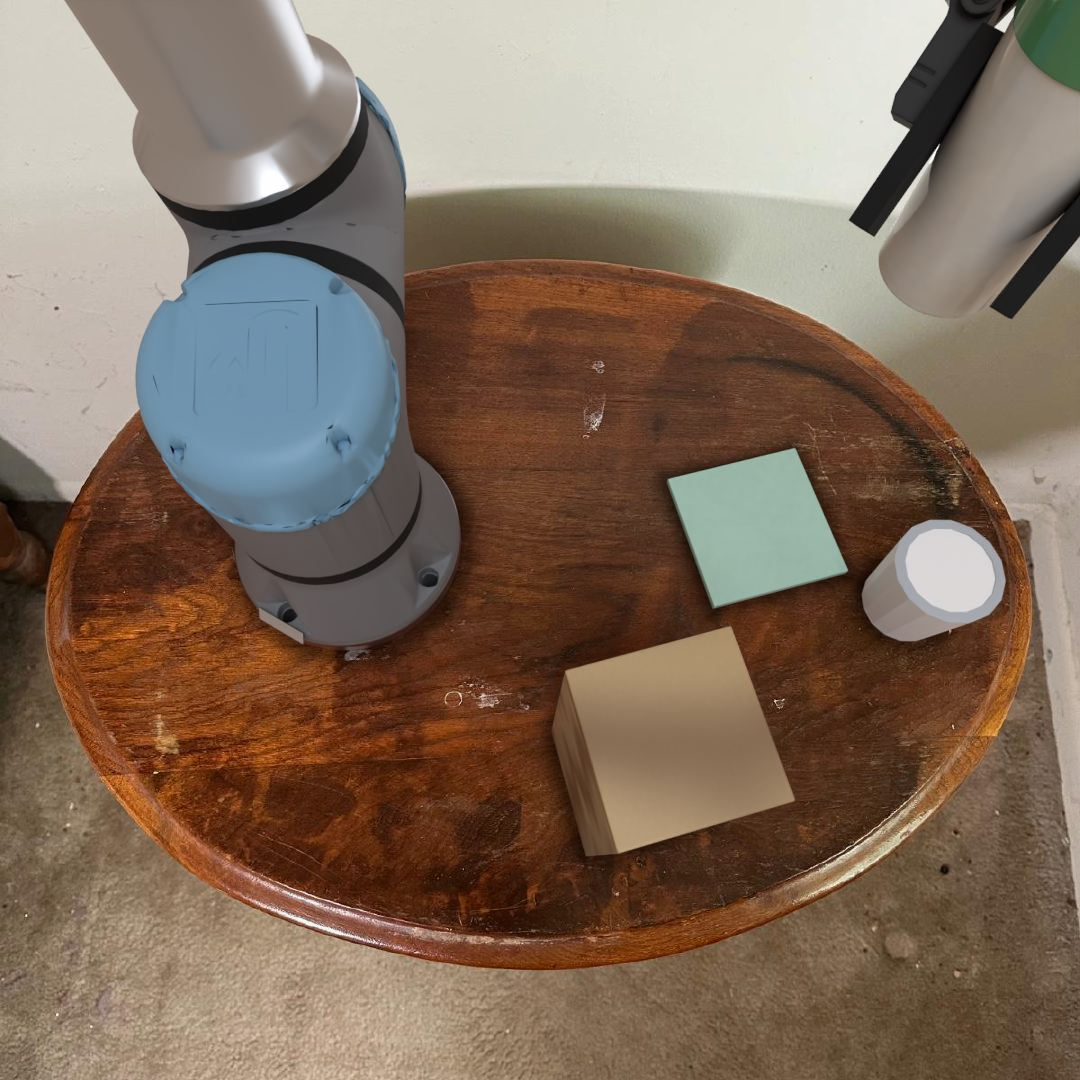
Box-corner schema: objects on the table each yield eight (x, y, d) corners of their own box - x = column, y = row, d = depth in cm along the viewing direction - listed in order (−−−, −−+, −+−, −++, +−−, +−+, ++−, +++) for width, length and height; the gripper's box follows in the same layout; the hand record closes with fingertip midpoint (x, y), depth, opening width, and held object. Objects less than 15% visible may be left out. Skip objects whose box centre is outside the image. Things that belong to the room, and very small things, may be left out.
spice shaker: (855, 233, 34) (1020, -81, 22) (967, 209, 34) (1182, -109, 23) (906, 333, 32) (1112, 47, 21) (1023, 306, 32) (1285, 13, 21)
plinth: (551, 729, 54) (564, 670, 37) (666, 697, 55) (731, 625, 38) (585, 856, 51) (617, 853, 34) (707, 820, 52) (796, 800, 35)
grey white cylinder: (950, 659, 56) (1007, 633, 50) (849, 639, 56) (892, 610, 50) (952, 566, 58) (1006, 529, 52) (855, 547, 59) (897, 508, 52)
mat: (666, 482, 60) (667, 478, 60) (792, 451, 62) (795, 447, 61) (712, 609, 57) (714, 606, 56) (845, 573, 58) (848, 570, 58)
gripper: (1940, -426, 19) (1147, 403, 30) (1218, -642, 23) (743, 158, 34) (2433, -793, 13) (1198, 431, 23) (1317, -1006, 17) (691, 124, 27)
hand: (930, 268), depth 29 cm, fingers closed on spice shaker, 5 cm apart
